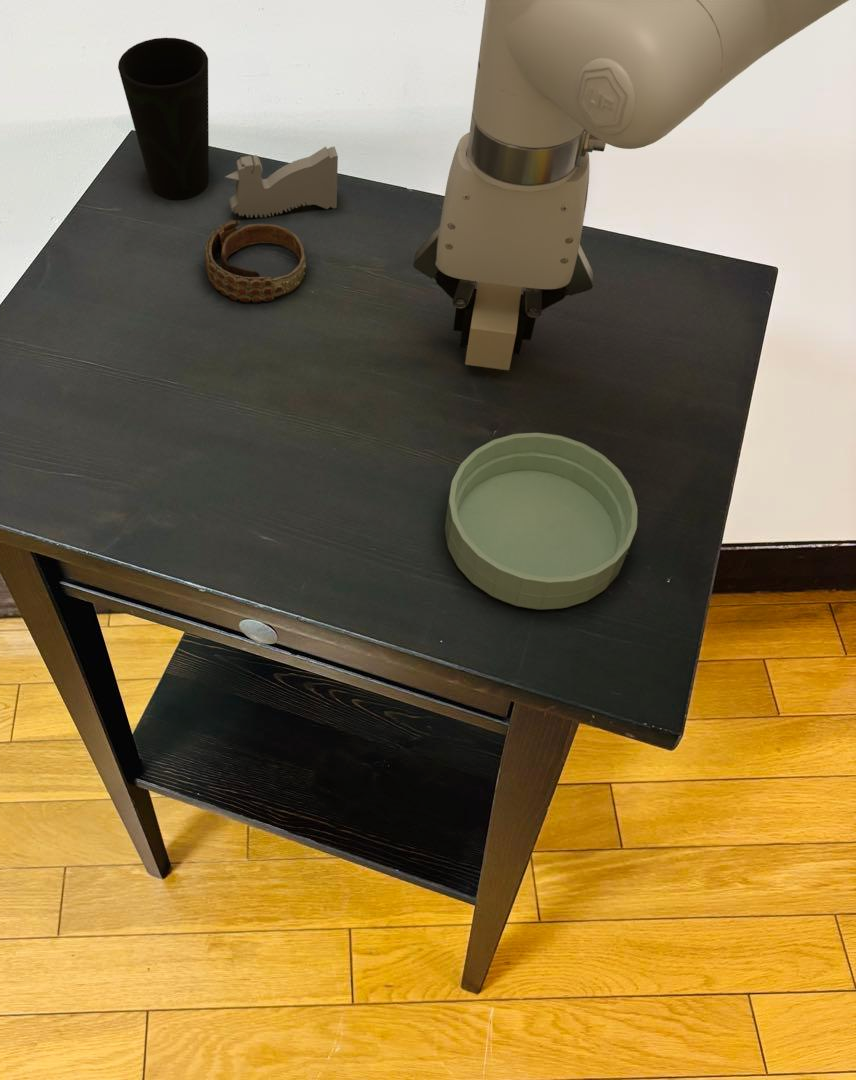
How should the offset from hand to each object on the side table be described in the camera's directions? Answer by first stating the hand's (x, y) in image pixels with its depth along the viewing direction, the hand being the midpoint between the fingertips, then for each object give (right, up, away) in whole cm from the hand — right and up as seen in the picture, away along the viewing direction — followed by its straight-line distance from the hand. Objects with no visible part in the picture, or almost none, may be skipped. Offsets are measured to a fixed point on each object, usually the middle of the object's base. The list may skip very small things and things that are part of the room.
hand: (491, 336), depth 86 cm
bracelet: (-19, +7, +7) cm, 22 cm away
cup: (-27, +17, +15) cm, 35 cm away
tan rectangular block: (0, 0, 0) cm, 0 cm away
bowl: (+1, -16, -9) cm, 19 cm away
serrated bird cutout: (-17, +14, +12) cm, 25 cm away
